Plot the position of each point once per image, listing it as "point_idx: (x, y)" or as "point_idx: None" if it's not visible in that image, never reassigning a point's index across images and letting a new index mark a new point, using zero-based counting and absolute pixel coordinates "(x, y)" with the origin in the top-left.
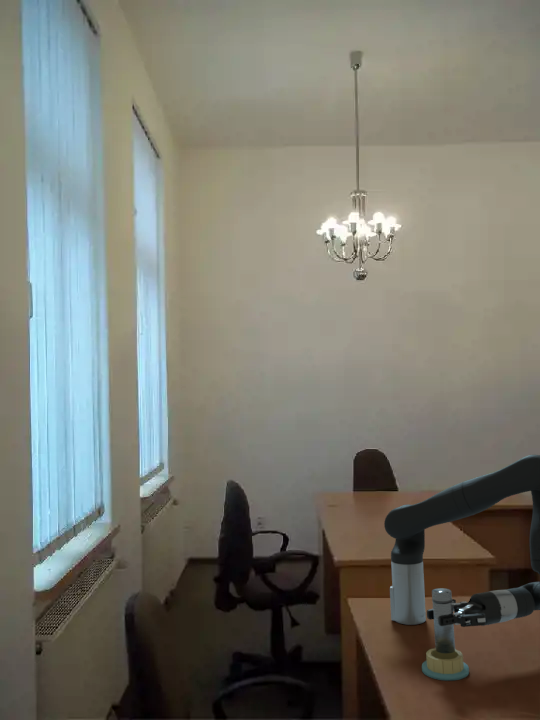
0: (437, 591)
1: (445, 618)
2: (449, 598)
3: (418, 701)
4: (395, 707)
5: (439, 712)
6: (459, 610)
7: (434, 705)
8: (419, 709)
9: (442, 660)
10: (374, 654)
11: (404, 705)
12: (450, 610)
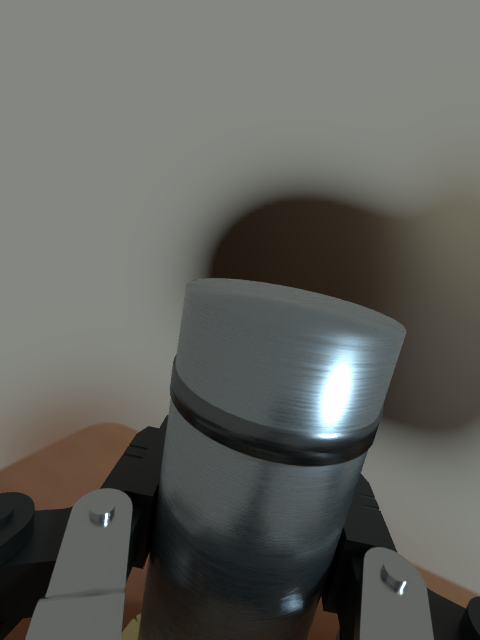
0: (300, 296)
1: (142, 439)
2: (179, 348)
3: (93, 475)
4: (120, 430)
5: (5, 471)
6: (111, 588)
7: (38, 487)
8: (66, 452)
9: (139, 621)
10: (472, 597)
11: (110, 445)
12: (162, 463)
